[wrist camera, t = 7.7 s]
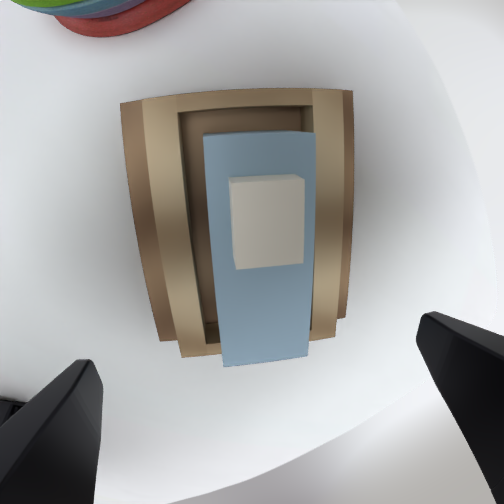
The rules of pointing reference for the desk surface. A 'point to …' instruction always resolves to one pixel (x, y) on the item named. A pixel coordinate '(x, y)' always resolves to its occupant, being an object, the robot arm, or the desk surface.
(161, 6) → the stacking bear
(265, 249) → the blue slab
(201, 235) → the jig
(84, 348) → the desk surface
